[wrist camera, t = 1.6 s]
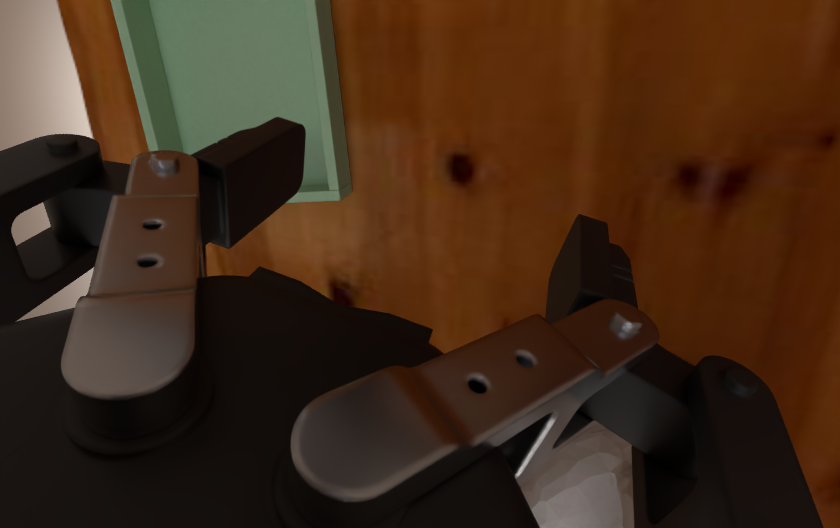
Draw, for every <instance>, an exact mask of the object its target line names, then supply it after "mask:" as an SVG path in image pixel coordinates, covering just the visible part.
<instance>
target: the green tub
mask: <svg viewBox="0 0 840 528" xmlns="http://www.w3.org/2000/svg"><path fill="white" fill-rule="evenodd" d="M111 4H112V8H113V12H114V16H115V20H116V24H117V27H118V31H119V35H120V39H121V43H122V47H123V51H124V55H125V58H126V62H127V66H128V70H129V74H130V78H131V82H132V86H133V89H134V93H135V97H136V101H137V105H138V109H139V113H140V117H141V120H142V124H143V128H144V132H145V136H146V140H147V144H148V148H149V151H157V150H171V151H179V152H183V153H186V154H189V155H191V154H193V153H195V152H197V151H199V150H201V149H203V148H205V147H207V146H209V145H211V144H213V143H217V142H218V141H219V140H221V139H223V138H227V136H229V135H231V134H233V133H235V132H237V131H240V130H245V129H250V128H255V127H258V126H260V125H261V124H263V123H265V122H267V121H269V120H271V119H273V118H275V117H281V118H284V119H287V120H290V121H293V122H296V123H299V124H302V125H303V126H304V127H305V131H306V140H305V157H304V174H303V180H302V184H301V187H300V189H299V191H298V192H297V193H296V195H294V196H293V197H292V198H291V199H290V200H288V201H287V202H286V203H296V202H319V201H340V200H342V199H343V198H344V197H346V196H347V195H349V194H350V193H352V185H351V177H350V168H349V160H348V151H347V143H346V134H345V126H344V117H343V109H342V100H341V92H340V83H339V75H338V66H337V58H336V49H335V41H334V32H333V24H332V15H331V7H330V0H111Z"/></svg>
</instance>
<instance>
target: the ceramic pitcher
mask: <svg viewBox="0 0 840 528" xmlns="http://www.w3.org/2000/svg"><path fill="white" fill-rule="evenodd" d="M631 446H632V445H631V444H630V443H628V442H627V441H625V440H624V439H622V438H621V437H619V436H618V435H616V434H615V433H613V432H612V431H610V430H609V429H607V428H606V427H604V426H603V425H601V424H600V423H597V424H596V425H594V426H593V427H592V428H590V429H589V430H588V431H586V432H585V433H584V434H582V435H581V436H580V437H578V438H577V439H576V440H574V441H573V442H571V443H570V444H569V445H567V446H566V447H565V448H563V449H562V450H561V451H559V452H558V453H557V454H555V455H554V456H553V457H551V458H550V459H549V460H547V461H546V462H545V463H544V464H543V465H542V466H541V467H540V468H539V469H538V470H537V471H536V472H535V473H534V474H533V475H532V476H531V477H530V478H529V479H528V480H527V481H526V482H525V483H524V484H523V485H522V486H521V490H522V492H523V494H524V496H525V498H526V500H527V502H528V504H529V507H530V509H531V511H532V513H533V515H534V517H535V519H536V521H537V523H538V525H539V527H540V528H634V508H633V480H632V452H631Z"/></svg>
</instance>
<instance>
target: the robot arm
mask: <svg viewBox="0 0 840 528" xmlns="http://www.w3.org/2000/svg"><path fill="white" fill-rule="evenodd" d="M305 140H306V131H305V127H304V126H303V125H302V124H299V123H296V122H293V121H290V120H287V119H284V118H281V117H275V118H273V119H271V120H269V121H267V122H265V123H263V124H261V125H260V126H258V127H255V128H250V129H245V130H240V131H237V132H235V133H233V134H231V135H229V136H227V138H223V139H221V140H219V141H218V142H217V143H213V144H211V145H209V146H207V147H205V148H203V149H201V150H199V151H197V152H195V153H193V154H191V155H189V154H186V153H183V152H179V151H171V150H157V151H150V152H145V153H142V154H140V155H138V156H136V157H135V158H134V159H133V160H132V162H131V165H130V164H123V163H117V162H110V161H103V159H102V155H101V150H100V146H99V143H98V142H97V141H95V140H94V139H92V138H89V137H86V136H81V135H73V134H55V135H47V136H43V137H39V138H35V139H33V140H30V141H27V142H24V143H22V144H19V145H16V146H14V147H11V148H8V149H5V150H2V151H0V528H540V527H539V525H538V523H537V521H536V519H535V517H534V515H533V513H532V511H531V509H530V507H529V504H528V502H527V500H526V498H525V496H524V494H523V492H522V490H521V488H520V487H521V486H522V485H523V484H524V483H525V482H526V481H527V480H528V479H529V478H530V477H531V476H532V475H533V474H534V473H535V472H536V471H537V470H538V469H539V468H540V467H541V466H542V465H543V464H544V463H545V462H546V461H547V460H549V459H550V458H551V457H553V456H554V455H555V454H557V453H558V452H559V451H561V450H562V449H563V448H565V447H566V446H567V445H569V444H570V443H571V442H573V441H574V440H576V439H577V438H578V437H580V436H581V435H582V434H584V433H585V432H586V431H588V430H589V429H590V428H592V427H593V426H594V425H596V424H597V423H600V424H601V425H603V426H604V427H606V428H607V429H609V430H610V431H612V432H613V433H615V434H616V435H618V436H619V437H621V438H622V439H624V440H625V441H627V442H628V443H630V444H631V445H632V446H631V452H632V480H633V508H634V528H823V525H822V523H821V520H820V517H819V515H818V512H817V509H816V507H815V504H814V501H813V499H812V496H811V493H810V491H809V488H808V485H807V483H806V480H805V477H804V475H803V472H802V469H801V467H800V464H799V461H798V459H797V456H796V453H795V451H794V448H793V445H792V443H791V440H790V437H789V435H788V432H787V429H786V427H785V424H784V421H783V419H782V416H781V413H780V411H779V408H778V405H777V403H776V400H775V398H774V396H773V393H772V392H771V390H770V389H769V388H768V386H767V385H766V384H765V383H764V382H763V381H762V380H761V379H760V378H759V377H758V376H757V375H755V374H754V373H753V372H752V371H750V370H749V369H747V368H746V367H744V366H743V365H741V364H739V363H737V362H735V361H733V360H730V359H727V358H724V357H720V356H707V357H704V358H703V359H701V361H700V362H699V363H698V364H697V365H696V367H695V366H693V365H691V364H690V363H688V362H686V361H684V360H683V359H681V358H679V357H677V356H676V355H674V354H672V353H670V352H669V351H667V350H665V349H664V348H663V347H661V346H660V345H659V344H657V342H658V340H659V331H658V329H657V327H656V325H655V324H654V322H653V321H652V320H651V319H650V318H649V317H648V316H647V315H646V314H644V313H643V312H642V311H640V310H639V309H638V305H637V299H636V294H635V288H634V283H633V276H632V273H631V271H632V270H631V264H630V259H629V257H628V256H627V255H626V253H625V252H624V251H623V249H622V248H621V247H620V246H618V245H615V244H612V243H609V235H608V225H607V223H606V222H603V221H599V220H596V219H593V218H590V217H587V216H584V215H581V214H579V215H578V216H577V218H576V219H575V221H574V223H573V225H572V227H571V229H570V231H569V234H568V236H567V238H566V240H565V242H564V244H563V246H562V248H561V250H560V252H559V255H558V257H557V259H556V261H555V263H554V266H553V268H552V271H551V274H550V278H549V285H548V295H547V305H546V316H545V319H544V318H543V317H542V316H541V315H539V314H535V315H532V316H529V317H527V318H525V319H523V320H520V321H518V322H516V323H513V324H511V325H509V326H507V327H504V328H502V329H500V330H498V331H495V332H493V333H491V334H488V335H486V336H484V337H482V338H479V339H477V340H475V341H473V342H470V343H468V344H466V345H464V346H461V347H459V348H457V349H454V350H452V351H450V352H448V353H445V354H444V353H442V352H441V351H440V350H439V349H437V348H436V347H435V346H433V345H431V344H430V343H429V340H430V337H431V334H432V331H433V329H430V328H428V327H425V326H422V325H419V324H417V323H414V322H411V321H408V320H406V319H403V318H400V317H397V316H395V315H392V314H389V313H383V312H378V311H372V310H366V309H360V308H354V307H348V306H343V305H339V304H337V303H335V302H333V301H332V300H330V299H328V298H327V297H325V296H324V295H322V294H320V293H319V292H317V291H315V290H314V289H312V288H311V287H309V286H307V285H306V284H304V283H303V282H301V281H298V280H296V279H293V278H290V277H287V276H285V275H282V274H279V273H276V272H274V271H271V270H268V269H265V268H263V267H258V268H257V269H256V270H255V271H254V272H253V273H252V274H251V275H250V276H249V277H244V276H209V277H207V256H206V245H207V244H208V243H209V242H211V243H213V244H216V245H219V246H222V247H225V248H227V249H230V248H231V247H232V246H233V245H235V244H236V243H237V242H238V241H239V240H241V239H242V238H243V237H244V236H246V235H247V234H248V233H249V232H250V231H252V230H253V229H254V228H255V227H257V226H258V225H259V224H260V223H261V222H263V221H264V220H265V219H266V218H268V217H269V216H270V215H271V214H272V213H274V212H275V211H276V210H277V209H279V208H280V207H281V206H282V205H283V204H285V203H286V202H287V201H288V200H290V199H291V198H292V197H293V196H294V195H296V193H297V192H298V191H299V189H300V187H301V184H302V180H303V174H304V157H305ZM42 202H43V203H44V206H45V209H46V212H47V215H48V218H49V221H50V224H51V227H50V228H48V229H46V230H44V231H42V232H41V233H39V234H37V235H35V236H33V237H32V238H30V239H28V240H26V241H24V242H22V243H21V244H19V245H17V246H16V244H15V242H14V239H13V237H12V234H11V227H12V223H13V221H14V219H15V218H16V217H17V216H18V215H19V214H20V213H22V212H24V211H26V210H28V209H30V208H32V207H34V206H36V205H38V204H40V203H42ZM93 267H94V271H93V275H92V279H91V283H90V287H89V291H88V294H87V295H86V296H82V297H80V298H79V300H78V301H77V304H76V307H75V308H72V309H67V310H63V311H59V312H55V313H51V314H46V315H43V316H38V317H34V318H30V319H26V320H21V321H17V320H18V319H20V318H21V317H23V316H24V315H25V314H27V313H28V312H30V311H31V310H33V309H34V308H35V307H37V306H38V305H40V304H41V303H43V302H44V301H46V300H47V299H49V298H50V297H51V296H53V295H54V294H56V293H57V292H58V291H60V290H61V289H63V288H64V287H66V286H67V285H69V284H70V283H72V282H73V281H74V280H76V279H77V278H79V277H80V276H82V275H83V274H84V273H86V272H87V271H89V270H90V269H92V268H93ZM15 321H17V322H15Z"/></svg>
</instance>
